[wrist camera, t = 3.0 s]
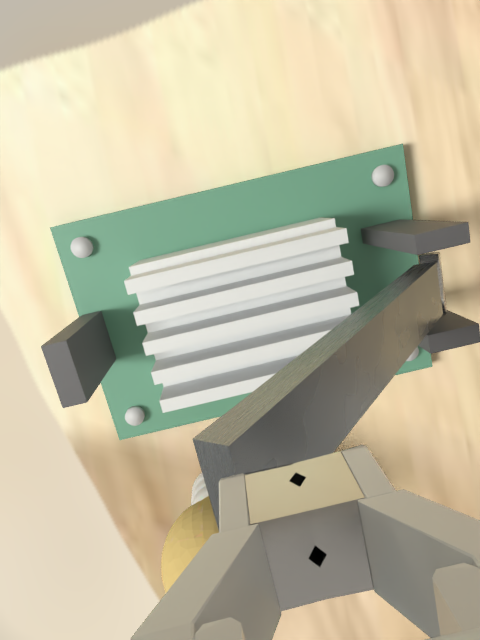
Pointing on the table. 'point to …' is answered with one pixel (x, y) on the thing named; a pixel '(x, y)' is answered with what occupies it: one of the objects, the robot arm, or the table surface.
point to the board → (235, 286)
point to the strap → (325, 383)
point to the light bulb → (188, 534)
